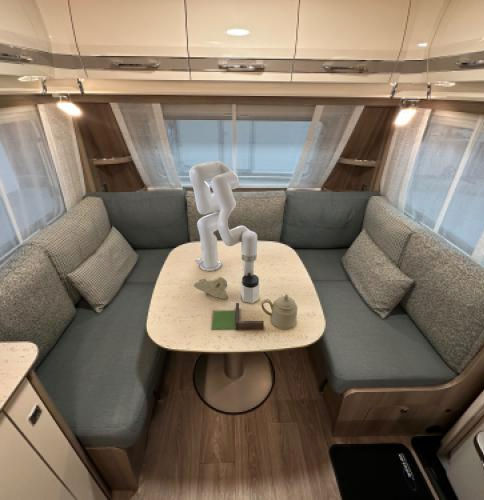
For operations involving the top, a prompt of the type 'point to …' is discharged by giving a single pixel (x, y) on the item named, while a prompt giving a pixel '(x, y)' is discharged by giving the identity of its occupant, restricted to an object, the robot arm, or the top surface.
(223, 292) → the khaki irregular lump
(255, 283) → the jar
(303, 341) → the top surface
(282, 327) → the sugar bowl
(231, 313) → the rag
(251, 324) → the corner rail
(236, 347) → the top surface
